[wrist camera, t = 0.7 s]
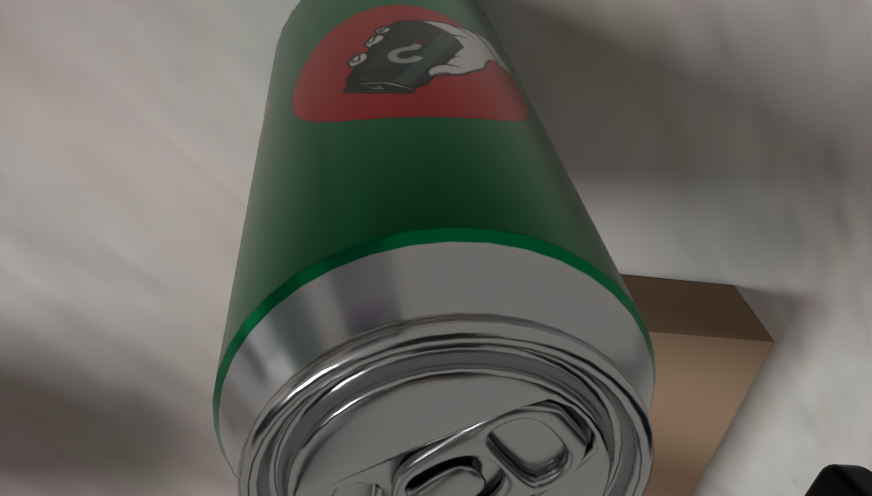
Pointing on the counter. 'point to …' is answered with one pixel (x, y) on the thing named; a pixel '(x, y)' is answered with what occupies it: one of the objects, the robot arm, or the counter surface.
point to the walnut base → (695, 372)
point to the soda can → (422, 279)
